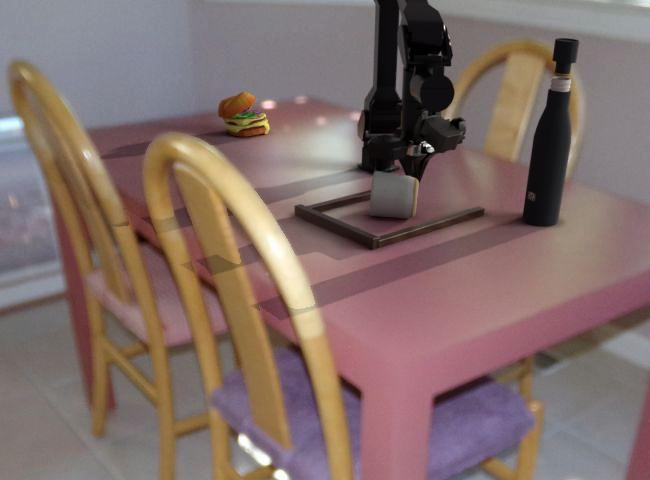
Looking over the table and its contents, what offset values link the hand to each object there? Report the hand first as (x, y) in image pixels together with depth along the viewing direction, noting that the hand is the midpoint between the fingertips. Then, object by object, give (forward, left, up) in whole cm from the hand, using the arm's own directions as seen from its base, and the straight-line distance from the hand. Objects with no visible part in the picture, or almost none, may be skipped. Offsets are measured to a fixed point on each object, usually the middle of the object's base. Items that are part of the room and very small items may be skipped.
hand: (414, 189), depth 143 cm
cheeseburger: (-6, -61, -4) cm, 62 cm away
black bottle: (-14, +18, -4) cm, 23 cm away
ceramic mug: (+5, -1, -4) cm, 6 cm away
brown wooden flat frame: (+5, 0, -4) cm, 7 cm away
